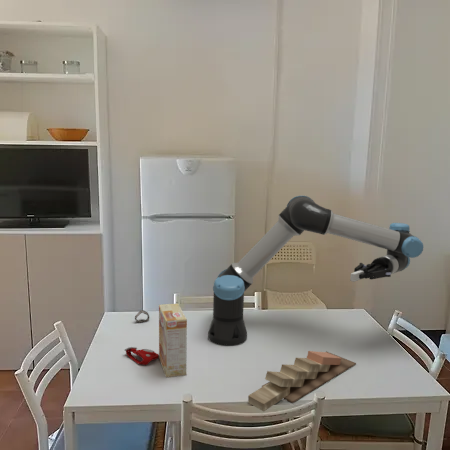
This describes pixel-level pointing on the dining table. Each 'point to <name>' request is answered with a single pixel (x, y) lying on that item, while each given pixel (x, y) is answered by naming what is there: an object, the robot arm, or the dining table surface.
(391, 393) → the dining table surface
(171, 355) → the coffeecake box
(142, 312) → the wristwatch
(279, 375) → the maple tile
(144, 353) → the tracker holder
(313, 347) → the dining table surface
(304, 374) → the maple tile
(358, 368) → the dining table surface
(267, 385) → the maple tile
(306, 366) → the maple tile
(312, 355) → the terracotta tile
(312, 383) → the board
